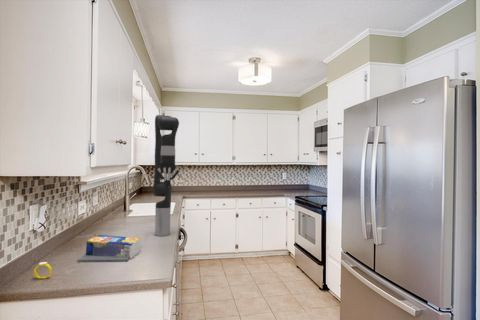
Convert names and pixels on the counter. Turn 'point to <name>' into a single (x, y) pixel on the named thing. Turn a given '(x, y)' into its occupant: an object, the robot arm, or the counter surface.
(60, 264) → the counter surface
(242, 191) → the counter surface
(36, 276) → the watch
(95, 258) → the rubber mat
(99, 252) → the beverage box
